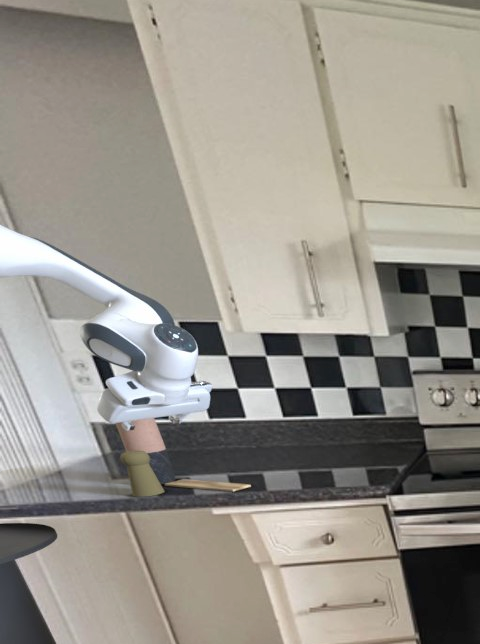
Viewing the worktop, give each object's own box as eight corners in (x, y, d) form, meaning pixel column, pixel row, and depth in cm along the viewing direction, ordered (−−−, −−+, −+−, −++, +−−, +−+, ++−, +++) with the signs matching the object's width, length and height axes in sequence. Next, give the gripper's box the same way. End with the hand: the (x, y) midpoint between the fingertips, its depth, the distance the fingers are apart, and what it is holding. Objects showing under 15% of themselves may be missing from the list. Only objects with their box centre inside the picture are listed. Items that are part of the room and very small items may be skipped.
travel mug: (184, 478, 180) (158, 405, 173) (160, 485, 173) (132, 410, 166) (156, 478, 180) (128, 405, 172) (131, 485, 173) (100, 409, 165)
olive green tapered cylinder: (137, 498, 163) (119, 455, 159) (129, 494, 166) (112, 451, 162) (168, 492, 168) (152, 450, 164) (160, 488, 171) (144, 447, 167)
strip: (233, 491, 170) (232, 489, 170) (165, 485, 173) (164, 483, 173) (251, 486, 174) (250, 484, 174) (184, 481, 178) (183, 479, 178)
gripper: (204, 370, 158) (192, 408, 165) (96, 380, 140) (88, 421, 147) (222, 390, 158) (210, 427, 165) (117, 402, 141) (108, 443, 148)
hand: (151, 424), depth 156 cm, fingers open, 8 cm apart
